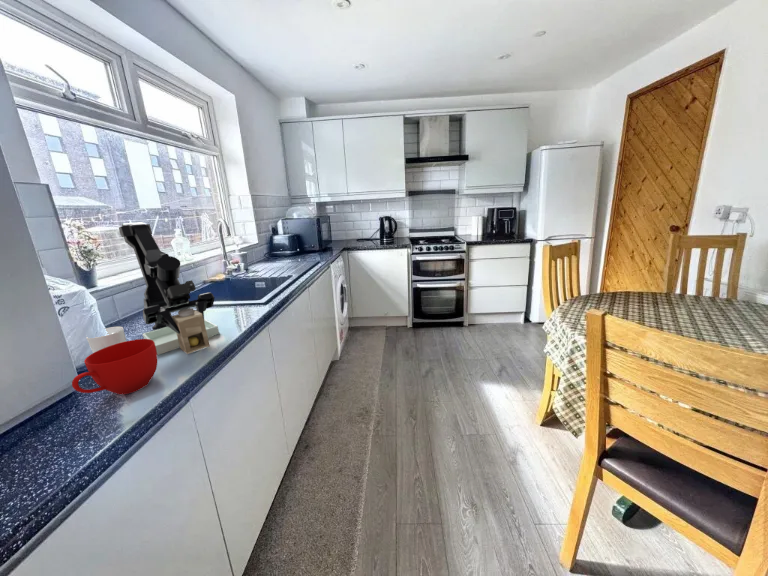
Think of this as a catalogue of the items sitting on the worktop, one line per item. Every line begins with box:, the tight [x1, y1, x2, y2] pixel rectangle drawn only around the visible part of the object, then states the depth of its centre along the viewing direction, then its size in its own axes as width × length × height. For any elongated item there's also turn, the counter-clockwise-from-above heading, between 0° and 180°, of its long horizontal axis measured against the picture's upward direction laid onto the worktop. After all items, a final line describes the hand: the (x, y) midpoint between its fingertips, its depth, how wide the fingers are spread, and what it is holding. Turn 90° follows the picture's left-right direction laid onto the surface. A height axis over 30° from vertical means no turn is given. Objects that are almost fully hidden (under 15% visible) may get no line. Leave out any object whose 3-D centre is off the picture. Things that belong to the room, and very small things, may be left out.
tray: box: [142, 318, 220, 356], centre depth 102 cm, size 16×18×3 cm
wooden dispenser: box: [172, 307, 211, 355], centre depth 92 cm, size 6×6×12 cm
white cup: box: [85, 326, 127, 354], centre depth 86 cm, size 8×8×10 cm
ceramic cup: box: [71, 338, 158, 396], centre depth 71 cm, size 13×17×10 cm
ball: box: [189, 337, 199, 346], centre depth 94 cm, size 3×3×3 cm
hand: (191, 329), depth 91 cm, fingers closed on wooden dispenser, 6 cm apart
